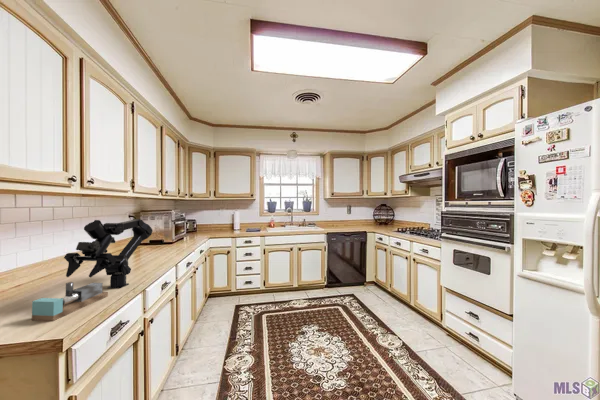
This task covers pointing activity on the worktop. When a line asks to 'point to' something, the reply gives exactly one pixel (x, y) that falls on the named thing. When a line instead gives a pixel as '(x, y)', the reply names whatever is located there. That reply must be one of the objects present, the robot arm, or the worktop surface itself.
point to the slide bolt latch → (78, 301)
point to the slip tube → (70, 294)
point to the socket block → (47, 306)
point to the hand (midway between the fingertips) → (78, 276)
